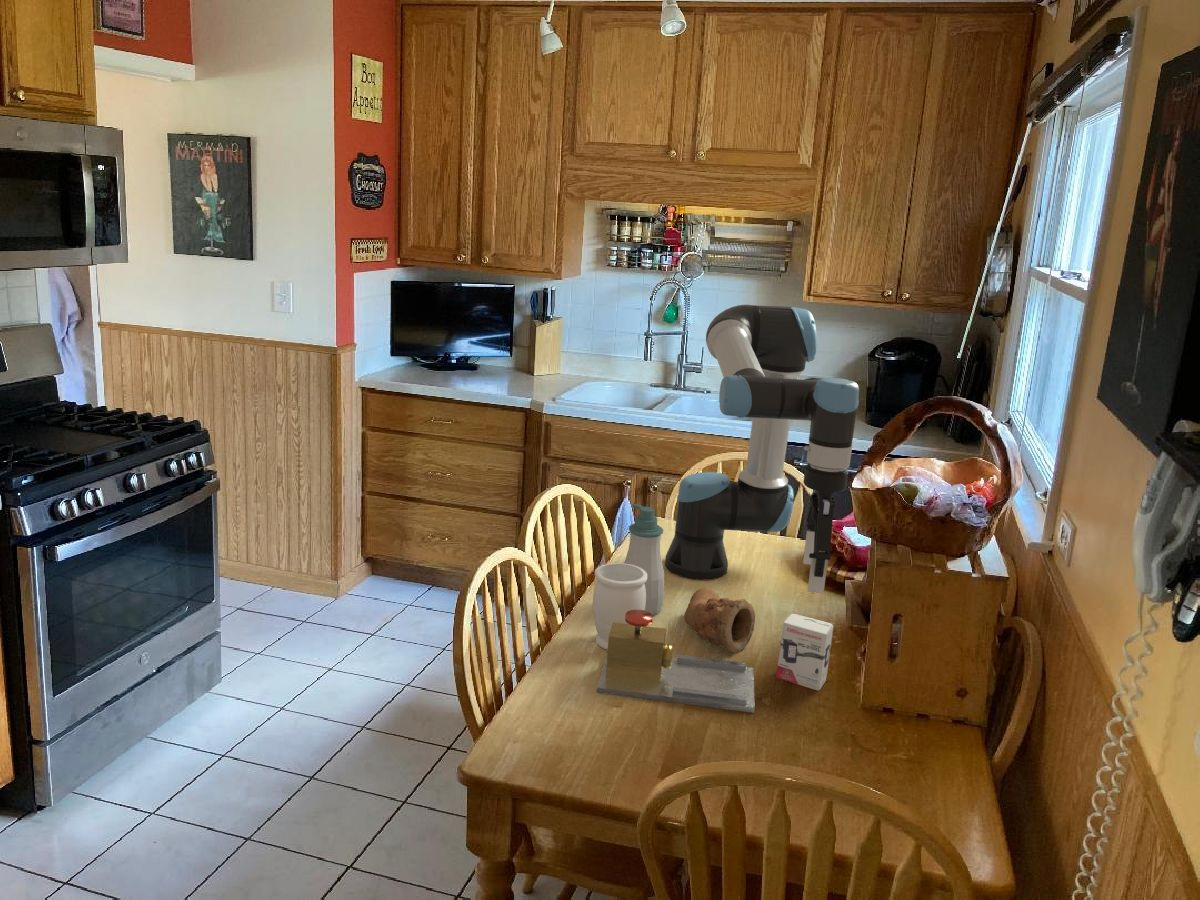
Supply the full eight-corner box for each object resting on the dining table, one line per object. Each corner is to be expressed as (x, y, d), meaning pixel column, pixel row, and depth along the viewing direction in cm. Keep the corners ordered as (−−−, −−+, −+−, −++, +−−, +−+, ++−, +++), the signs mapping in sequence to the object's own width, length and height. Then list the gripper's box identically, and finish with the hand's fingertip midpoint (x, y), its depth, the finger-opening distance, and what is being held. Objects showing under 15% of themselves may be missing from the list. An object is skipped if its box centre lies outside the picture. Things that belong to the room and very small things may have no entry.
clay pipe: (680, 667, 187) (754, 660, 182) (668, 618, 185) (743, 610, 180) (698, 626, 205) (766, 619, 200) (687, 581, 203) (755, 572, 198)
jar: (607, 625, 195) (612, 558, 191) (651, 640, 190) (657, 570, 186) (580, 644, 186) (584, 574, 182) (625, 660, 181) (631, 587, 177)
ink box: (775, 678, 178) (782, 621, 175) (783, 667, 182) (790, 612, 179) (819, 691, 174) (827, 633, 171) (826, 680, 178) (834, 623, 175)
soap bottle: (638, 595, 211) (646, 498, 205) (671, 610, 204) (680, 511, 198) (607, 607, 204) (614, 507, 198) (640, 622, 198) (649, 520, 192)
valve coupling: (607, 654, 183) (611, 595, 180) (752, 672, 180) (759, 612, 177) (596, 692, 169) (600, 629, 166) (754, 712, 165) (761, 648, 162)
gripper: (801, 446, 180) (788, 551, 185) (810, 483, 156) (795, 602, 161) (841, 450, 179) (827, 555, 184) (856, 488, 155) (840, 607, 160)
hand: (812, 577), depth 173 cm, fingers open, 13 cm apart
